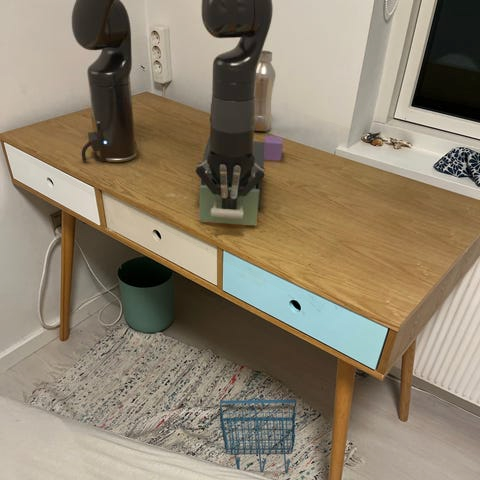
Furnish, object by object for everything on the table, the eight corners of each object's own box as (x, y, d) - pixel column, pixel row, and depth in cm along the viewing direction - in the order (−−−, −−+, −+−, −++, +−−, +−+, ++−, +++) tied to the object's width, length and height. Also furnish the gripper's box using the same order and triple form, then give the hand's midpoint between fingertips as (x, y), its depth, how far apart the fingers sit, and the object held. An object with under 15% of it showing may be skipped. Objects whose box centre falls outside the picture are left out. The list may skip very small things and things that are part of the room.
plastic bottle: (269, 135, 140) (276, 56, 127) (245, 132, 141) (250, 53, 128) (272, 127, 145) (279, 50, 132) (249, 124, 146) (254, 48, 133)
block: (280, 161, 128) (282, 143, 125) (263, 159, 128) (264, 142, 125) (280, 154, 131) (282, 136, 128) (263, 152, 131) (264, 135, 128)
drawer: (255, 238, 97) (258, 204, 92) (196, 234, 97) (196, 200, 92) (258, 194, 111) (260, 162, 106) (206, 190, 111) (206, 158, 106)
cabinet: (259, 210, 108) (263, 169, 102) (201, 205, 108) (201, 165, 102) (261, 180, 119) (264, 142, 113) (208, 176, 119) (208, 137, 113)
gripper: (271, 117, 88) (263, 206, 100) (196, 112, 88) (196, 202, 100) (271, 133, 83) (262, 226, 94) (190, 127, 83) (192, 221, 94)
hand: (228, 213), depth 97 cm, fingers closed
